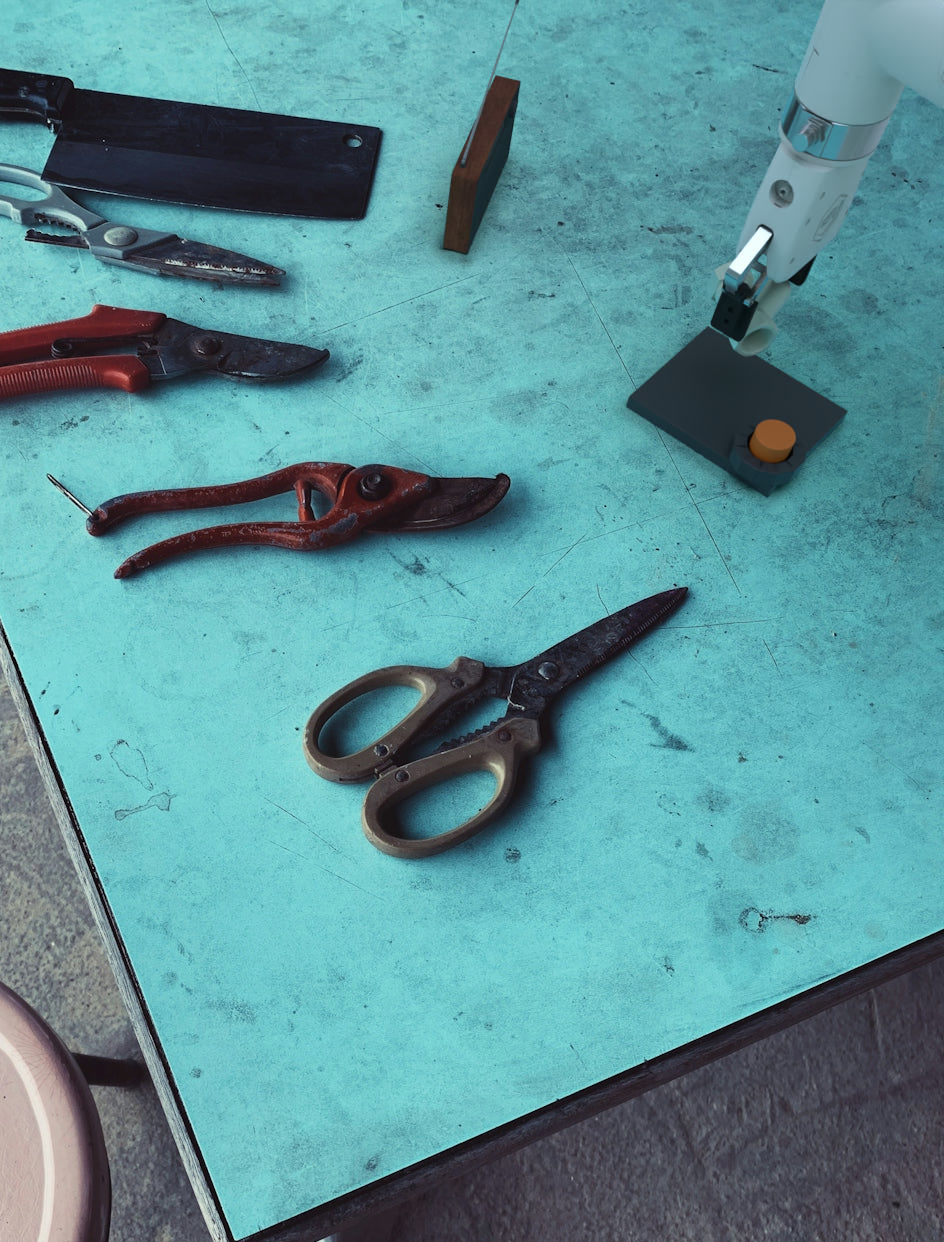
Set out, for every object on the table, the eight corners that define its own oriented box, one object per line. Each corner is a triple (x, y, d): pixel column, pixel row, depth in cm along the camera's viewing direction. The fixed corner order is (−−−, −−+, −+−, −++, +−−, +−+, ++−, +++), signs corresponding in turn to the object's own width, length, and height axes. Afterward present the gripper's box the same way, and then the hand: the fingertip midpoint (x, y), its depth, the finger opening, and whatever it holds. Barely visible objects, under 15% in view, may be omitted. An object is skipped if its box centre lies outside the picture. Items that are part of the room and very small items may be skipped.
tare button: (796, 448, 108) (803, 434, 106) (774, 470, 107) (781, 456, 105) (763, 427, 109) (769, 413, 107) (741, 448, 108) (747, 434, 106)
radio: (470, 256, 122) (491, 115, 109) (442, 249, 122) (459, 107, 109) (516, 146, 130) (541, 2, 117) (489, 140, 130) (511, -5, 117)
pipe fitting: (769, 292, 110) (701, 296, 109) (787, 256, 107) (718, 259, 105) (799, 355, 107) (729, 359, 105) (819, 320, 103) (747, 323, 102)
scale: (849, 425, 113) (862, 402, 110) (769, 507, 108) (780, 485, 106) (703, 336, 118) (712, 312, 115) (620, 411, 113) (628, 387, 110)
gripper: (815, 195, 86) (737, 378, 101) (936, 89, 92) (845, 276, 107) (728, 147, 88) (665, 333, 103) (852, 47, 94) (775, 236, 109)
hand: (757, 304), depth 105 cm, fingers closed on pipe fitting, 9 cm apart
